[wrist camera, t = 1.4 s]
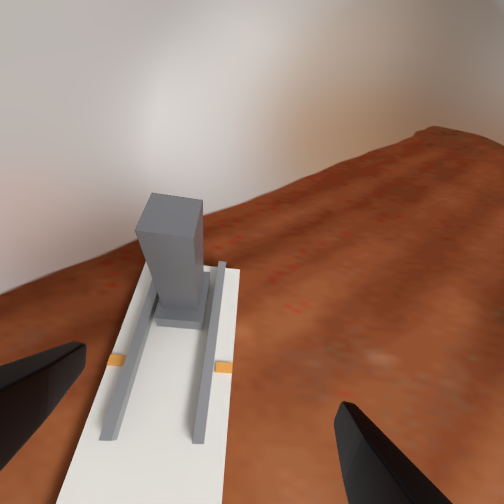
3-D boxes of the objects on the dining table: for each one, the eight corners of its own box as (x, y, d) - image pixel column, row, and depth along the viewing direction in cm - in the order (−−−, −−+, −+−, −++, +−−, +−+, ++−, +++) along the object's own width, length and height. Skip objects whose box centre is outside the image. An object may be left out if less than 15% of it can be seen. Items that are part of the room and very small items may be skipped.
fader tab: (202, 329, 21) (199, 253, 12) (157, 326, 21) (117, 244, 11) (210, 282, 24) (213, 190, 15) (170, 277, 24) (148, 180, 14)
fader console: (212, 592, 14) (214, 623, 12) (31, 598, 13) (-4, 633, 11) (238, 276, 27) (241, 263, 25) (149, 266, 26) (144, 252, 24)
